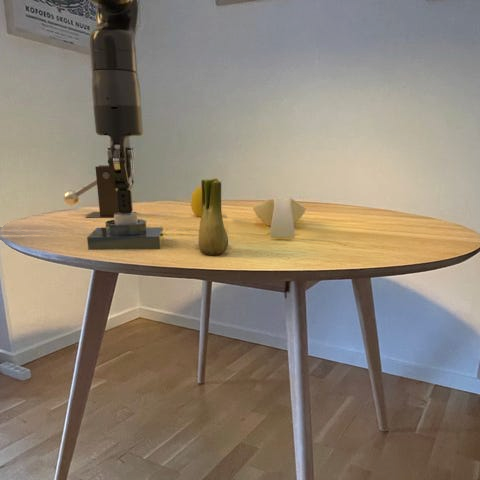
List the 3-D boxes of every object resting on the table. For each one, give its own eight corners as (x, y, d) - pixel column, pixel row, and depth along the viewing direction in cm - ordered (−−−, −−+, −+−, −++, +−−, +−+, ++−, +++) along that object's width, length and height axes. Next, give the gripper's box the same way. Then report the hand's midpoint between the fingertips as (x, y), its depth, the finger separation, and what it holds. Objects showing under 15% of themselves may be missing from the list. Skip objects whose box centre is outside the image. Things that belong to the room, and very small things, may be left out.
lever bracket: (86, 222, 104) (80, 166, 100) (93, 216, 111) (88, 164, 107) (132, 222, 105) (128, 167, 100) (136, 216, 112) (132, 165, 108)
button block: (88, 250, 79) (85, 226, 77) (98, 239, 87) (96, 217, 86) (160, 249, 80) (158, 225, 79) (163, 238, 88) (162, 217, 87)
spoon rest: (252, 219, 110) (253, 188, 108) (302, 220, 110) (304, 188, 108) (252, 239, 88) (253, 201, 86) (314, 240, 88) (317, 202, 86)
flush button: (112, 225, 80) (112, 215, 80) (116, 222, 84) (115, 212, 83) (136, 225, 81) (135, 215, 80) (139, 221, 84) (138, 212, 84)
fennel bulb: (199, 249, 80) (197, 176, 76) (227, 249, 80) (228, 177, 76) (197, 257, 75) (196, 179, 70) (228, 257, 75) (228, 180, 71)
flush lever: (68, 208, 105) (59, 196, 104) (71, 206, 108) (62, 194, 107) (116, 178, 103) (108, 165, 102) (118, 177, 106) (110, 164, 105)
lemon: (199, 218, 112) (198, 183, 109) (219, 220, 109) (219, 184, 106) (186, 221, 107) (185, 185, 104) (207, 223, 105) (207, 186, 102)
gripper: (101, 106, 81) (110, 207, 87) (84, 100, 69) (96, 219, 75) (144, 106, 82) (150, 207, 88) (136, 101, 70) (144, 218, 76)
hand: (126, 212), depth 82 cm, fingers closed
